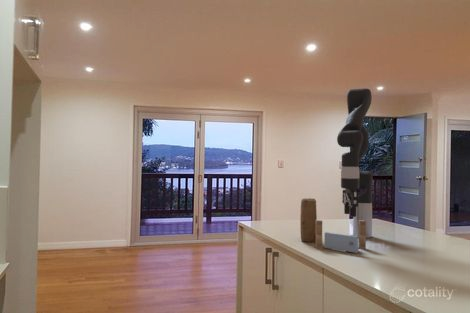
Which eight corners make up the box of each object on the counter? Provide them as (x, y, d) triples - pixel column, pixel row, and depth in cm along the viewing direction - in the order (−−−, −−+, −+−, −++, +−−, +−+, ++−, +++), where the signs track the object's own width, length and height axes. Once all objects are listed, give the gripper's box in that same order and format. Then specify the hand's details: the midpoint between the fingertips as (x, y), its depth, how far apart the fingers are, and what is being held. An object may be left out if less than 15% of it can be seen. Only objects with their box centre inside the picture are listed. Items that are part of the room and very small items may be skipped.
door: (326, 247, 169) (326, 232, 169) (358, 252, 159) (358, 236, 159) (323, 248, 167) (323, 232, 167) (355, 253, 157) (355, 237, 157)
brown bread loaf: (317, 242, 180) (317, 199, 180) (300, 242, 181) (300, 199, 181) (315, 238, 191) (315, 197, 191) (300, 237, 192) (300, 197, 192)
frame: (315, 247, 170) (315, 220, 170) (363, 247, 170) (363, 220, 171) (316, 248, 168) (316, 220, 168) (365, 248, 168) (365, 221, 168)
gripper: (364, 178, 158) (364, 217, 158) (353, 176, 172) (353, 213, 172) (346, 178, 158) (346, 217, 158) (336, 176, 172) (336, 213, 172)
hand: (350, 215), depth 165 cm, fingers open, 8 cm apart
